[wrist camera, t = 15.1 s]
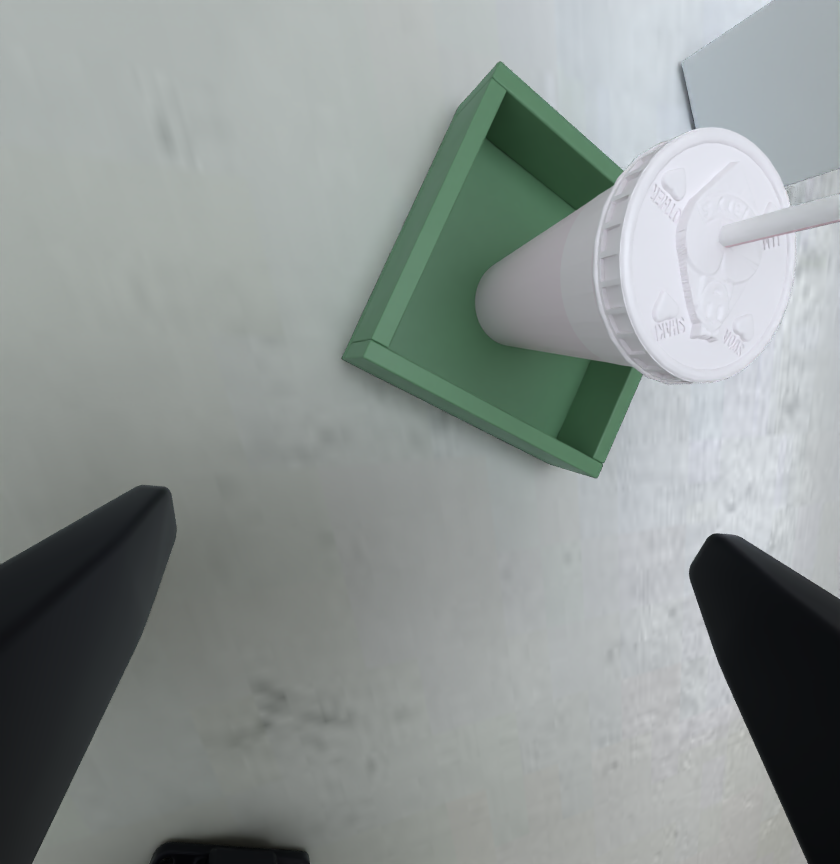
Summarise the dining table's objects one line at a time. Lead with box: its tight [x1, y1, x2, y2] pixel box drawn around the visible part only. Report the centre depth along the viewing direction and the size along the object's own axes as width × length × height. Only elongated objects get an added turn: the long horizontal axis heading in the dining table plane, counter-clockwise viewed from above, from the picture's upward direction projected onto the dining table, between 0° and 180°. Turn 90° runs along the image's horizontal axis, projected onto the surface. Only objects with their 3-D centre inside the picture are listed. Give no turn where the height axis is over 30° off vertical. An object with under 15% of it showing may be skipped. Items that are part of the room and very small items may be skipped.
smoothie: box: [475, 127, 840, 384], centre depth 15 cm, size 6×6×14 cm
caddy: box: [342, 62, 643, 478], centre depth 20 cm, size 11×11×3 cm
